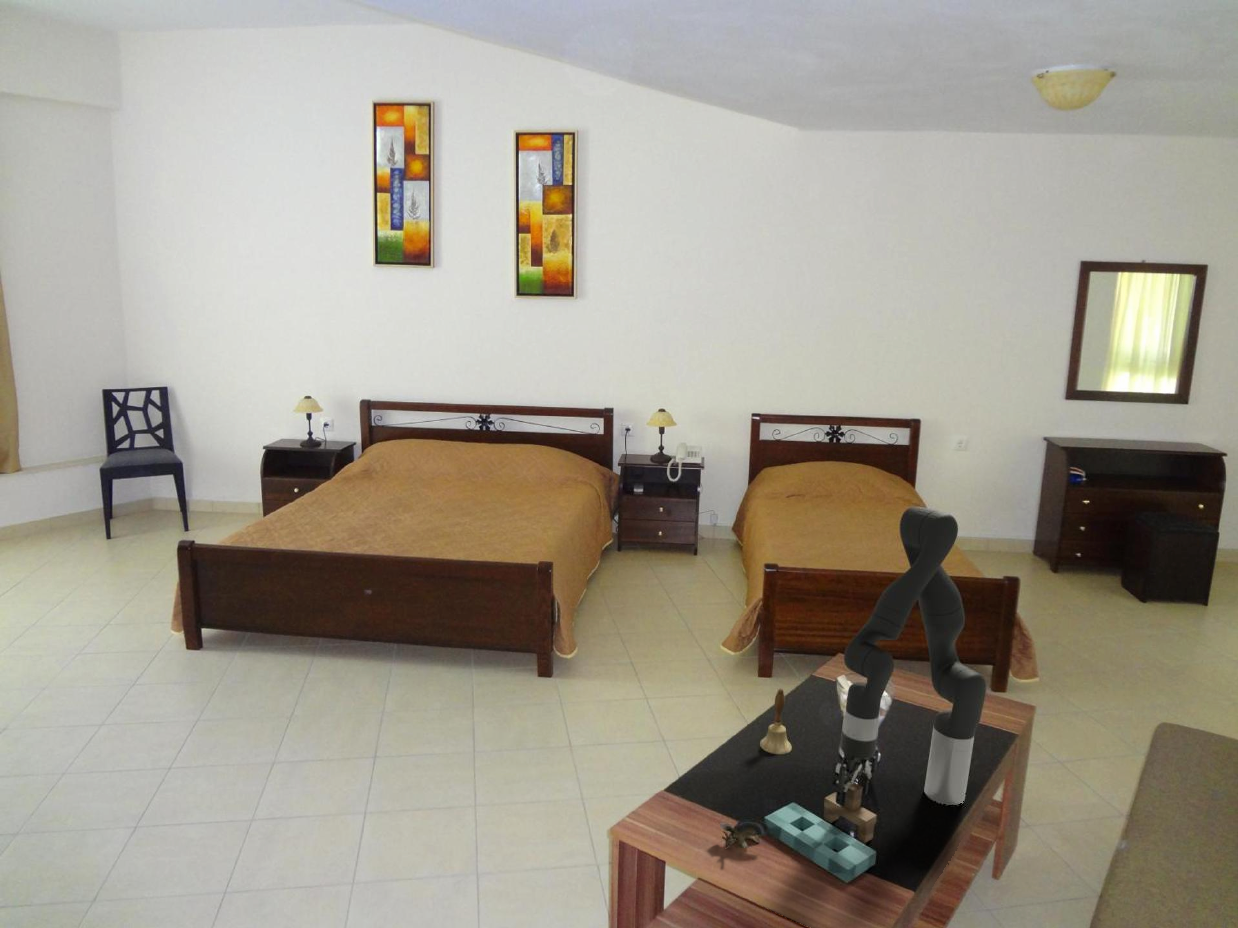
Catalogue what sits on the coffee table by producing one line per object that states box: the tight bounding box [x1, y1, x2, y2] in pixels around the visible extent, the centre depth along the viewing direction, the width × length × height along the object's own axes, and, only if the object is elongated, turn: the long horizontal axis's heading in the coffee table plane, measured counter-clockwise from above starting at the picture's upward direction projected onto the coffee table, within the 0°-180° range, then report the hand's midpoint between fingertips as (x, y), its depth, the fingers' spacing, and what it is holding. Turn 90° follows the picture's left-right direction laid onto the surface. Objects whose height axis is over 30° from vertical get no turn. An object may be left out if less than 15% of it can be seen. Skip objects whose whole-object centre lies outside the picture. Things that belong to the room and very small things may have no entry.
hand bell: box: [759, 688, 793, 755], centre depth 230 cm, size 8×8×16 cm
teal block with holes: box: [763, 801, 877, 884], centre depth 190 cm, size 22×10×3 cm, turn 41°
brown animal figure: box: [719, 818, 769, 852], centre depth 189 cm, size 8×7×9 cm
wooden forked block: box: [823, 781, 878, 844], centre depth 197 cm, size 11×4×10 cm, turn 41°
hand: (851, 798), depth 196 cm, fingers open, 7 cm apart
